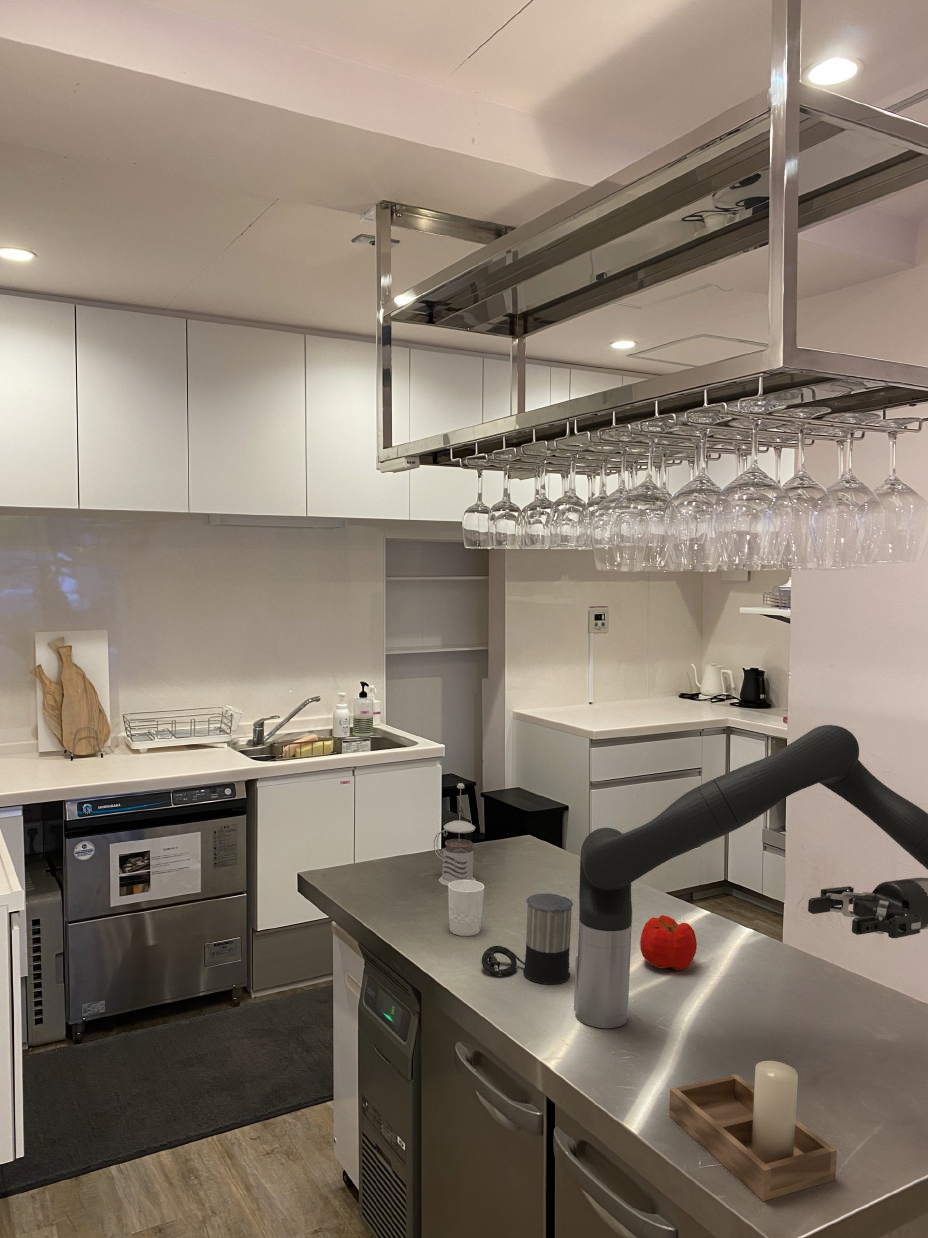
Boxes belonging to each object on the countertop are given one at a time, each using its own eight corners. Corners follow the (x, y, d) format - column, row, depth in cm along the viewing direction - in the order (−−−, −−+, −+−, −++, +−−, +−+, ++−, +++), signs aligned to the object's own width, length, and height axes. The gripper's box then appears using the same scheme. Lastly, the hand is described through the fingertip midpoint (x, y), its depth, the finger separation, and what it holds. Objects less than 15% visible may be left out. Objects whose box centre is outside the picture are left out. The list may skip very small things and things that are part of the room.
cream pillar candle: (742, 1151, 128) (746, 1065, 128) (773, 1143, 130) (778, 1058, 130) (770, 1175, 123) (774, 1085, 123) (802, 1166, 125) (806, 1078, 125)
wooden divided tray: (669, 1116, 138) (670, 1089, 138) (735, 1100, 143) (736, 1074, 142) (763, 1201, 119) (764, 1170, 119) (835, 1180, 124) (836, 1150, 124)
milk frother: (579, 981, 183) (582, 905, 182) (510, 995, 175) (513, 917, 175) (540, 953, 195) (542, 883, 195) (473, 966, 188) (475, 893, 187)
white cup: (463, 940, 201) (464, 894, 200) (439, 929, 207) (440, 884, 206) (490, 932, 206) (491, 887, 206) (466, 921, 212) (467, 877, 212)
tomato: (627, 961, 193) (629, 917, 193) (671, 950, 199) (673, 908, 199) (663, 981, 184) (665, 935, 184) (708, 969, 190) (710, 925, 190)
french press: (466, 889, 233) (470, 789, 232) (425, 881, 238) (428, 783, 237) (483, 878, 242) (486, 782, 241) (442, 871, 247) (445, 776, 246)
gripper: (876, 866, 150) (797, 876, 144) (954, 895, 137) (871, 907, 131) (873, 912, 151) (794, 924, 144) (951, 946, 138) (868, 961, 131)
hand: (831, 916), depth 137 cm, fingers open, 8 cm apart
